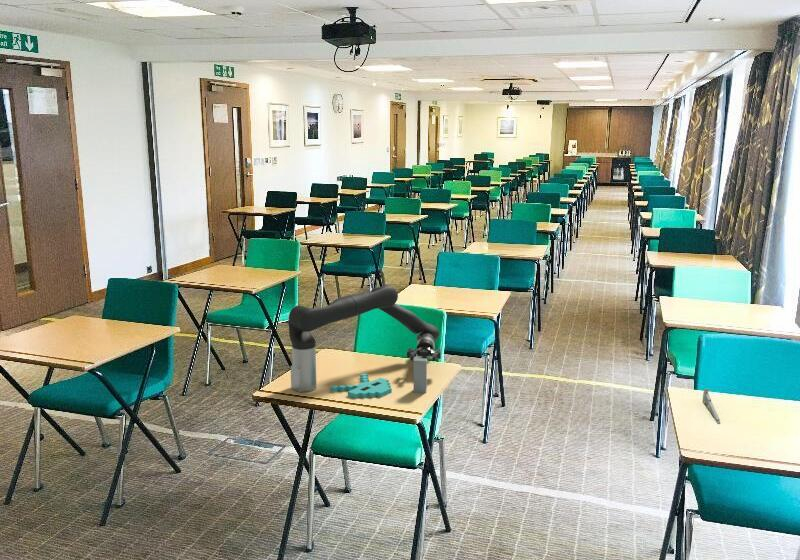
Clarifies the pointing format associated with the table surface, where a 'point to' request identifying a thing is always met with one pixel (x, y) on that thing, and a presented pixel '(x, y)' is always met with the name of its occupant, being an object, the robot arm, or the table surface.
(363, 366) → the table surface
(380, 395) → the alien figure
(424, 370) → the grey rectangular block
